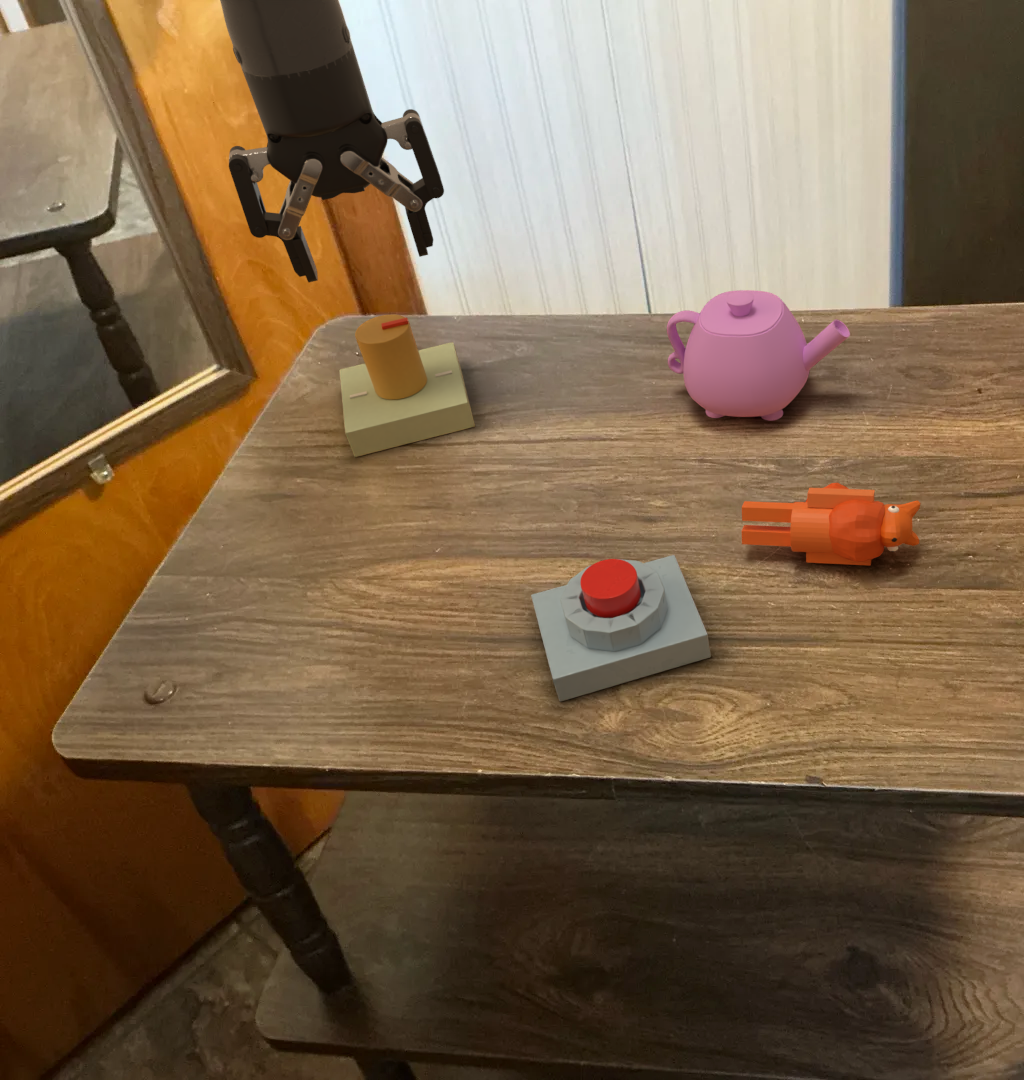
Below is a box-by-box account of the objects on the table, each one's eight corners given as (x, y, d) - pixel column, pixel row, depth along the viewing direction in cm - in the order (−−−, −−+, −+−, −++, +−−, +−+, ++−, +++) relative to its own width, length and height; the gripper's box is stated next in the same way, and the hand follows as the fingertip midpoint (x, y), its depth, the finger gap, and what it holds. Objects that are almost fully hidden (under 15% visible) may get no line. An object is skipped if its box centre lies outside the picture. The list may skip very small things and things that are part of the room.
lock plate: (354, 457, 93) (344, 431, 91) (348, 393, 100) (338, 367, 99) (475, 426, 95) (467, 400, 93) (460, 365, 102) (452, 340, 100)
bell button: (591, 624, 71) (586, 604, 70) (580, 587, 74) (574, 567, 73) (647, 608, 72) (643, 588, 71) (633, 572, 74) (629, 552, 73)
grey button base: (559, 702, 72) (546, 660, 69) (537, 617, 77) (524, 574, 75) (711, 657, 73) (704, 614, 70) (678, 577, 79) (671, 534, 76)
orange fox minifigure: (734, 502, 75) (919, 510, 73) (753, 464, 82) (923, 469, 80) (737, 572, 77) (916, 581, 75) (755, 528, 84) (920, 535, 82)
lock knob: (377, 405, 94) (355, 345, 90) (373, 377, 97) (352, 318, 93) (430, 392, 95) (410, 331, 91) (424, 365, 98) (405, 305, 94)
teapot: (686, 358, 99) (673, 261, 93) (859, 364, 96) (857, 264, 90) (657, 430, 92) (640, 330, 86) (842, 439, 89) (839, 336, 82)
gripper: (395, 14, 81) (453, 223, 92) (191, 54, 79) (275, 264, 90) (404, 46, 76) (465, 265, 87) (185, 90, 74) (275, 309, 85)
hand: (368, 264), depth 88 cm, fingers open, 8 cm apart
